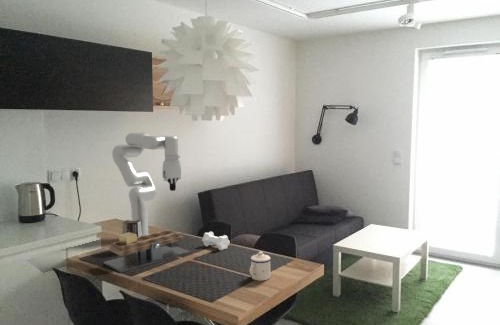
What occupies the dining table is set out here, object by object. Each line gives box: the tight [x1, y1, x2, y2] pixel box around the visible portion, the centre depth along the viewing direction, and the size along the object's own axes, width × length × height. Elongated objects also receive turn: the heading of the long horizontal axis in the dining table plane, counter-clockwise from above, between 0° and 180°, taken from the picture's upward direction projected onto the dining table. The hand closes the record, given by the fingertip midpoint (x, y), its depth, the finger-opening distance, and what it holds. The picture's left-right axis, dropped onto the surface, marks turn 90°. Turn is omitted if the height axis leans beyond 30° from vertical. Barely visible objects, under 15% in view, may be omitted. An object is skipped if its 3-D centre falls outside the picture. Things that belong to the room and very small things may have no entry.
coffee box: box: [121, 219, 142, 237], centre depth 226 cm, size 9×6×16 cm
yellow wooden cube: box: [118, 232, 137, 246], centre depth 202 cm, size 6×6×6 cm
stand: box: [103, 241, 191, 274], centre depth 210 cm, size 19×40×10 cm, turn 134°
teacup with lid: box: [249, 251, 272, 282], centre depth 181 cm, size 12×9×12 cm
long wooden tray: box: [109, 228, 184, 257], centre depth 210 cm, size 36×12×7 cm, turn 134°
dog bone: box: [201, 231, 230, 252], centre depth 228 cm, size 15×9×8 cm, turn 48°
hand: (172, 190), depth 230 cm, fingers closed
